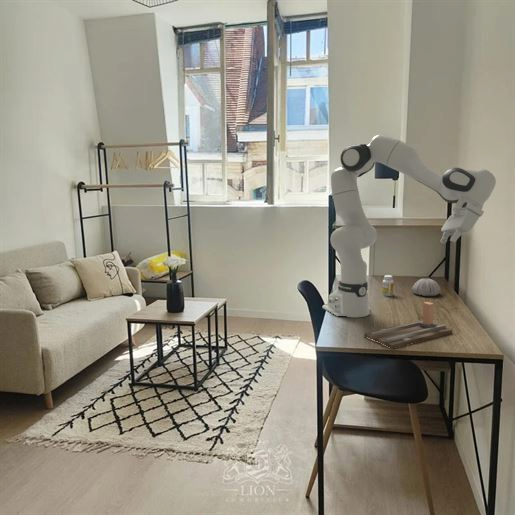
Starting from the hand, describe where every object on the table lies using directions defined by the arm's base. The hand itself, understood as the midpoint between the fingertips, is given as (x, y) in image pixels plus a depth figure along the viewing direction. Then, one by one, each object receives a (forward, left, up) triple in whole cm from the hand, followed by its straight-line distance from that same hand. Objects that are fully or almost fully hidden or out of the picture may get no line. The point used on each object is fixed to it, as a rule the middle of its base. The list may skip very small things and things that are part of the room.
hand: (447, 242), depth 172 cm
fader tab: (-3, -5, -33) cm, 33 cm away
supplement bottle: (-51, +21, -35) cm, 65 cm away
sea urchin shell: (-42, +38, -35) cm, 66 cm away
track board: (-3, -15, -34) cm, 38 cm away
